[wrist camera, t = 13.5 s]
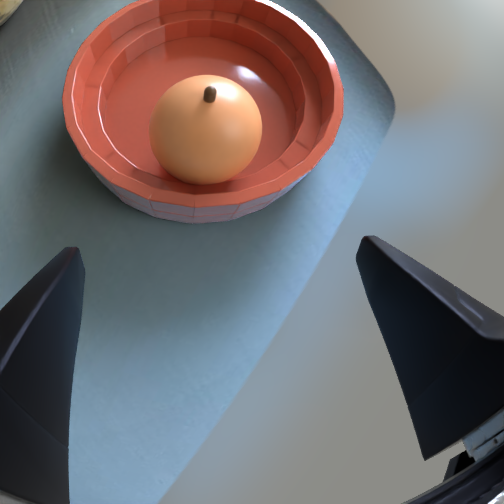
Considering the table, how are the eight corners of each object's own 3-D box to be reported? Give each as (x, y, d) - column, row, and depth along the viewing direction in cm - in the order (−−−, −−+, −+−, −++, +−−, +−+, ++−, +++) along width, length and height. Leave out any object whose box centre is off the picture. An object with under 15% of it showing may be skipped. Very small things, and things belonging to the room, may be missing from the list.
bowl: (353, 111, 24) (383, 81, 20) (216, 280, 21) (225, 279, 16) (196, 3, 23) (200, -35, 18) (41, 128, 19) (15, 96, 14)
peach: (261, 188, 21) (298, 133, 14) (166, 213, 20) (155, 164, 12) (233, 109, 22) (255, 36, 14) (146, 129, 20) (132, 56, 13)
